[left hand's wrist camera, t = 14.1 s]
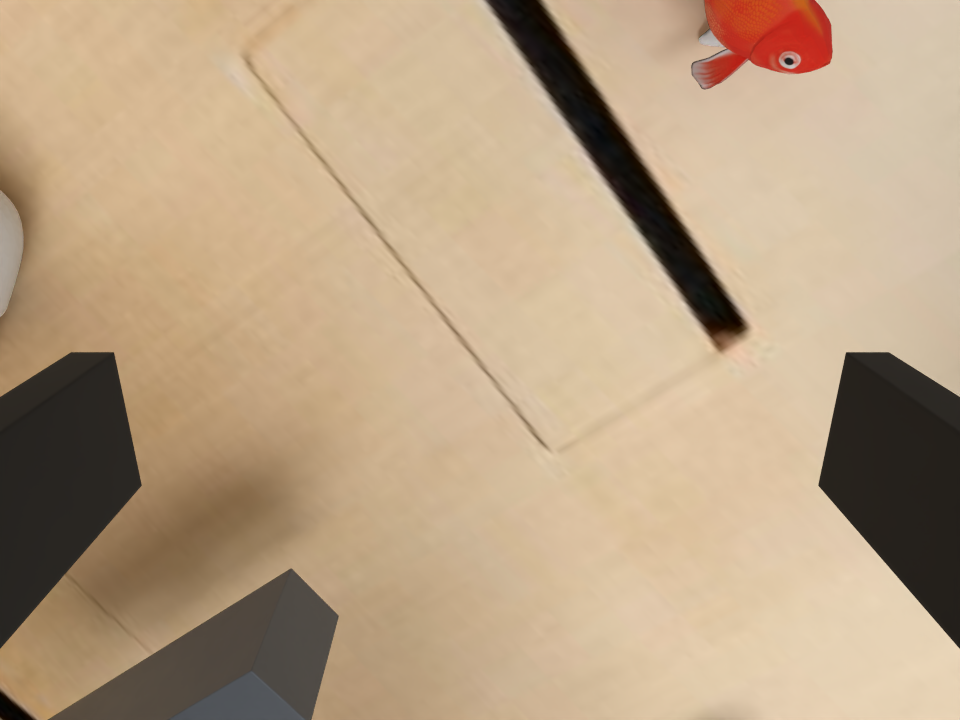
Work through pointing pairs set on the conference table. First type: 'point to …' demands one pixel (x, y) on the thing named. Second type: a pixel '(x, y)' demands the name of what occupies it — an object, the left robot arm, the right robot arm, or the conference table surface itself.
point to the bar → (229, 664)
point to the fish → (764, 37)
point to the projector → (9, 249)
